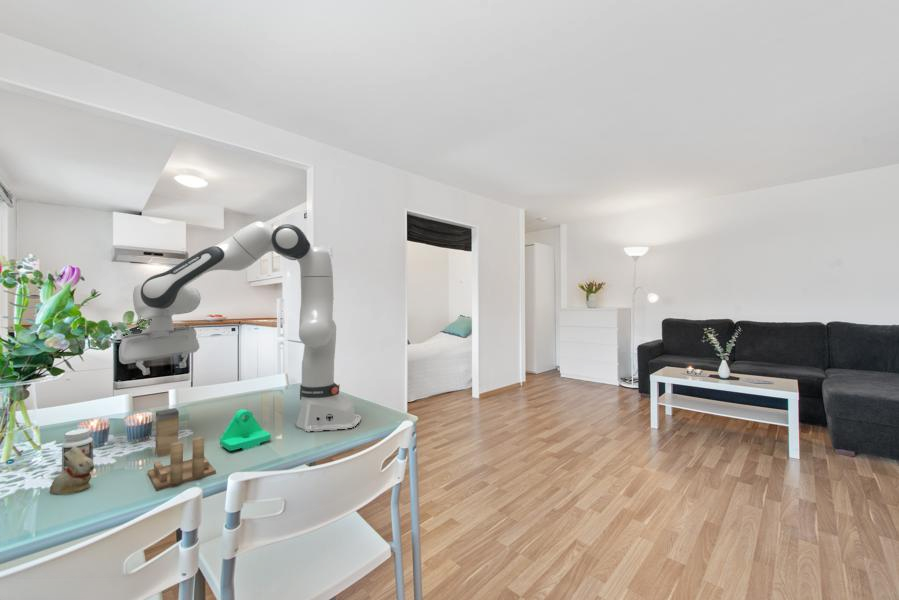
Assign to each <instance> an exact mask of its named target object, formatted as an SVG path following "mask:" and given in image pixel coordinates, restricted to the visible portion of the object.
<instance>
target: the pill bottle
mask: <svg viewBox="0 0 899 600" xmlns="http://www.w3.org/2000/svg"><path fill="white" fill-rule="evenodd" d="M90 435H91V428H76V429H72V430H69V431H68V432H65V433H64V439H65V440H66V441H65V442H63V443H62V446H61V470H62V471H61V473H63V472H65V471H66V470H67V468H68V466H67V463H66V462H65V460H64V458H63V455H64V453H66V452H68V451H69V450H70V449H71V448H72V447H78V448H79V449H80V450H81V451H82V452H83V454H84V455H85V456H86V457H88V458H91V459H92V460H93V461H94V439H93V437H91V436H90Z"/></svg>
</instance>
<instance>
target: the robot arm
mask: <svg viewBox="0 0 899 600" xmlns="http://www.w3.org/2000/svg"><path fill="white" fill-rule="evenodd" d="M270 252H275V253H276V254H279V256H281V257H282V258H284V259H287V260H290V261H297V262H298V265H299V269H300V271H299V272H300V297H301V298H300V309H299V310H300V311H299V323H298V324H299V327H298V338H299V340H300V341H301V343H302V344H303V347H304V349H303V357H302V361H301V383H300V385H299V386H300V388H299V400H300V404H299V411H298V415H297V420H296V423H295V426H296V427H297V428H299V429H302V430H303V431H305V432H306V431H307V432H306V433H311V432H310V431H314V432H324V431H323V430H330V431H338V430H337V429H345V428H352V427H354V426H356V425H357V424H358V423H359V422H360V420H361V421H362V416H361V415H360V414H357V413H356V410H355V406H354V403H353V402H352V401H350V400H349V399H348V398H347V397H345V396H344V395H342V394H341V393H340V386H341V385H340V383H339V384H337V383H336V382H334V381H335V358H336V357H335V354H336V344H337V343H336V341H337V340H336V339H337V325H336V322H335V321H334V319H333V316H334V315H333V312H334V275H333V273H334V272H333V264H332V259H331V256H330V253H329V251H328V250H327V249H326V248H324V247H321V246H314V245H311V243H310V241H309V240H308V238H307V235H306V234H305V233H304V232H303V230H301V229H300V227H297V226H296V225H294V224H281V225H278V227H276V228H275V229H274V228H273V227H271V225H269V224H267V222H264V221H258V220H257V221H254V222H252V223H250V224H247V225H245V226H244V227H242V228H241V229H238V231H236V232H235V233H233V234H231V236H229V237H228V238H226V239H224V240H223V241H222V242H220V243H218V244H216V245H213V246H210V247H207V248H205V249H202V250H200V251H199V252H197V253H195V254H194V255H192V256H190V257H188V258H186V259H184V261H182V262H179V263H178V264H176V265H175V266H173V267H171V268H170V269H168V270H166V271H164V272H161V273H158V274H154V275H152V276H150V277H148V278H147V279H146V280H145V281H142V282H140V283H137V285H136V286H135V287H134V288H133V292H132V302H133V308H134V311H135V314H136V316H137V321H138V320H139V319H140V316H141V315H142V318H143V319H150V318H151V319H152V321H151V320H150V322H151V323H150V325H149V327H148V329H145V330H140V329H137V328H138V327H137V326H138V324H137V325H134V326H132V327H129V328H126V329H125V330H128V331H129V330H130V331H132V332H131V333H133V334H130V335H125V336H123V335H121V334H120V340H121V342H120V344H119V348H118V360H119V362H120V363H121V364H123V365H126V364H127V365H128V364H133V363H135V366H137V368H138V369H139V370H141V371H142V375H143V376H146V375H150V374H151V371H150V367H145V366H144V365H143V364H144V362H145V361H152V360H158V359H163V358H169V357H175V356H181V358H183V359H182V361H179V362H178V365H179V368H180V369H182V368H183V369H184V368H186V367H187V360H188V357H189V354H194V353H196V352H198V351H199V349H200V343H199V340H198V338H197V331H196V328H194V327H193V326H190V325H188V326H187V325H185V326H179V327H174V322H173V318H172V317H173V315H174V316H175V315H183V314H188V313H192V312H194V311H195V310H196V309H197V308H198V307H199V305H200V303H201V294H200V292H199V290H198V289H197V288H195V287H193V286H191V285H189V284H190V283H192V282H194V281H195V280H197V279H199V278H200V277H201V276H203V275H205V274H207V273H208V272H212V271H221V270H222V271H223V270H224V271H231V272H232V271H235V272H239V271H242V270H245V269H247V268H248V267H250V266H252V265H253V264H255V262H257V261H258V260H260V259H261V258H262V257H263V256H265V255H266V254H268V253H270ZM140 321H141V320H140ZM140 321H138V323H139V322H140ZM143 327H144V326H143ZM122 332H123V331H122ZM123 333H125V332H123ZM360 423H361V422H360ZM360 423H359V424H360ZM357 426H358V425H357ZM357 426H356V427H357ZM354 428H355V427H354ZM352 429H353V428H352ZM345 430H346V429H345Z"/></svg>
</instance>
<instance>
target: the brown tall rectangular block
mask: <svg viewBox="0 0 899 600" xmlns="http://www.w3.org/2000/svg"><path fill="white" fill-rule="evenodd" d="M179 415H180V413H179V410H178V409H177V408H175V407H174V408H166V409H161V410H156V411H155V447H154V448H155V449H154V450H155V454H156V456H157V458H161V457H165V456H171V444H173V443H176V442H179V417H180V416H179Z"/></svg>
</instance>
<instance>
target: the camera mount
mask: <svg viewBox="0 0 899 600" xmlns="http://www.w3.org/2000/svg"><path fill="white" fill-rule="evenodd" d="M271 438H272V437H271V433H270V432H268V431H266V430H264V429H263V428H262V427H261V425H260V424H259V422H258V421H257V420H256V418H255V417H254V414H253V412H251V411H249V410H247V409H244V408H241V409H239V410H237V411H236V412H235V413H234V415H233V417H232V418H231V420H230V421H229V423H228V425H227V427H226V429H225V430H224V431H223V433H222V434H221V437H220V438H219V445H220V446H222V447H223V448H225V449H227V450H228V451H235V450H239V449H240V448H241V449H240V450H242V451H246V450H245V449H247V450H249V448H250V449H253V448H256V447H255V446H257V447H259V445H260V444H261V443H263V442H266V441H270V440H271ZM252 447H253V448H252Z"/></svg>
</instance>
